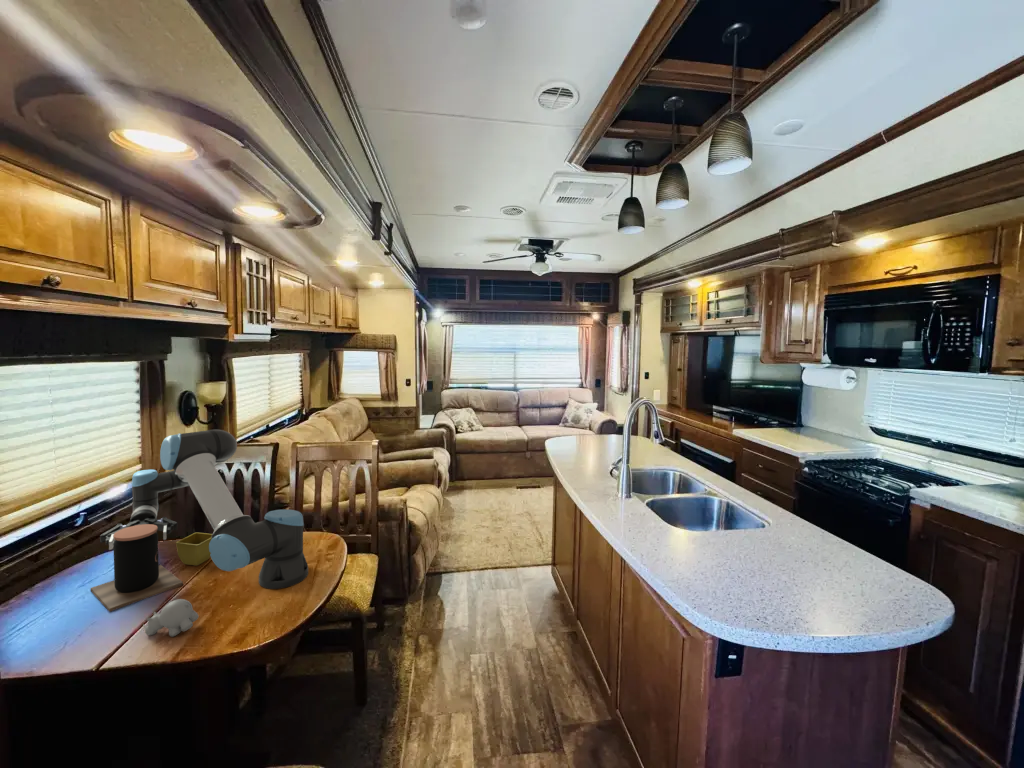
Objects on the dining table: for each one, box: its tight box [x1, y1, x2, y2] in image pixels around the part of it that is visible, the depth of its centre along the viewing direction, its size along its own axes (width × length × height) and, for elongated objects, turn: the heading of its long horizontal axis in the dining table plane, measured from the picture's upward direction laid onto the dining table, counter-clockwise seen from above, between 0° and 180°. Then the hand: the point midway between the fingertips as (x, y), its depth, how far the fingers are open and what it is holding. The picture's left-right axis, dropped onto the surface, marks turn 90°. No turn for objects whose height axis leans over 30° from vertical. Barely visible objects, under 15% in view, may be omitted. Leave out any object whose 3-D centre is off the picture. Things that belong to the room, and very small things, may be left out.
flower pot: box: [175, 532, 213, 567], centre depth 153 cm, size 9×9×9 cm
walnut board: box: [90, 564, 184, 613], centre depth 136 cm, size 18×18×1 cm
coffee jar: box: [112, 524, 160, 593], centre depth 135 cm, size 11×11×18 cm
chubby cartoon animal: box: [142, 598, 200, 638], centre depth 116 cm, size 7×12×8 cm, turn 102°
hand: (138, 540), depth 141 cm, fingers open, 13 cm apart
